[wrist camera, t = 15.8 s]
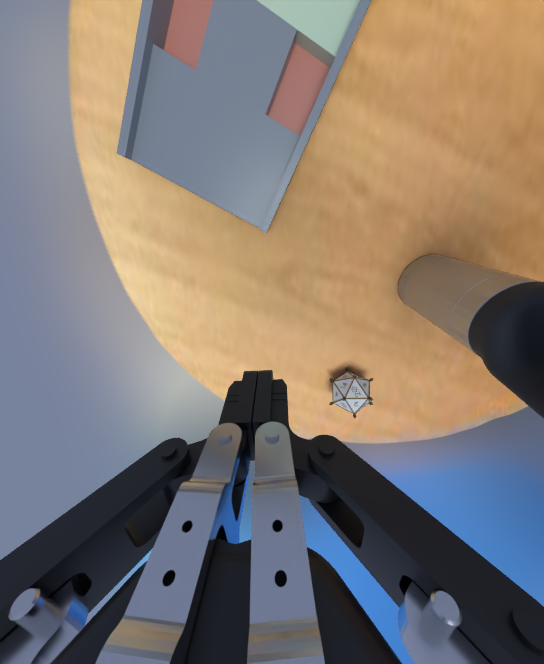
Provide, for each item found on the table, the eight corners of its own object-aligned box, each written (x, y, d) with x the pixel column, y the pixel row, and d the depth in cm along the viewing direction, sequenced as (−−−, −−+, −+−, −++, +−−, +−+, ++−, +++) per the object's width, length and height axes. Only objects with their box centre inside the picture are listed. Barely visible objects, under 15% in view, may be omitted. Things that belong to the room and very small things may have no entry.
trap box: (267, 230, 38) (266, 233, 34) (135, 160, 35) (114, 152, 30) (407, -79, 25) (435, -143, 20) (216, -249, 21) (200, -374, 17)
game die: (332, 368, 54) (314, 379, 46) (371, 360, 49) (358, 371, 41) (345, 407, 53) (328, 426, 45) (385, 403, 49) (375, 423, 40)
